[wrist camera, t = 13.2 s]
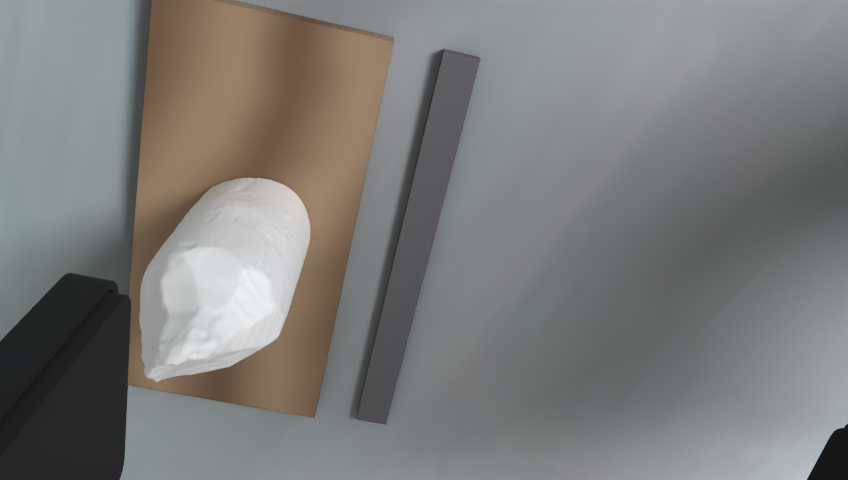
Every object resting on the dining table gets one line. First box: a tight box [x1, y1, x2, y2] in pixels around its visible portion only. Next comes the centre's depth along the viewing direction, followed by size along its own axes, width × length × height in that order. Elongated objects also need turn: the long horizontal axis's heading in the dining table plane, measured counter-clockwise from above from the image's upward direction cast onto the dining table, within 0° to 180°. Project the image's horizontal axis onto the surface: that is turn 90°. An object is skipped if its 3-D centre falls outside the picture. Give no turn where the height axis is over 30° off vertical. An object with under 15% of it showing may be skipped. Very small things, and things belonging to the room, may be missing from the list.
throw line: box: [356, 49, 480, 424], centre depth 37 cm, size 2×20×1 cm, turn 167°
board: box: [128, 0, 394, 418], centre depth 36 cm, size 10×20×1 cm, turn 167°
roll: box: [139, 178, 311, 382], centre depth 31 cm, size 6×12×6 cm
